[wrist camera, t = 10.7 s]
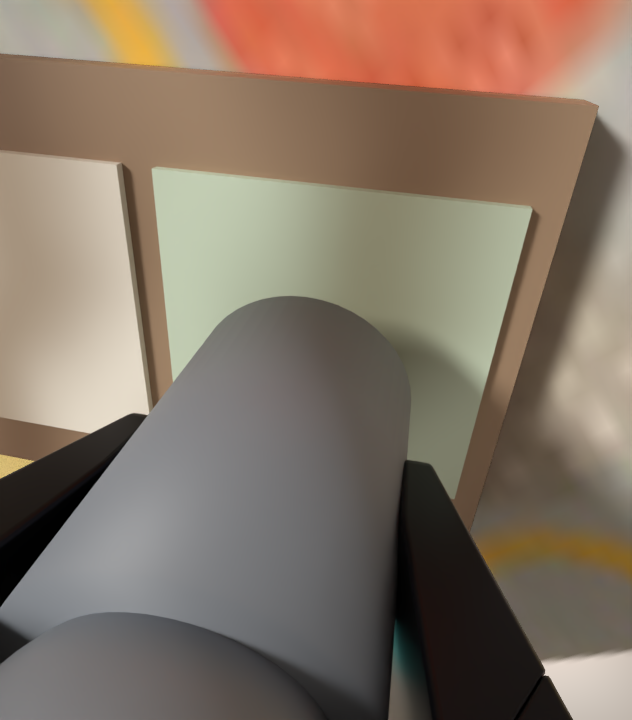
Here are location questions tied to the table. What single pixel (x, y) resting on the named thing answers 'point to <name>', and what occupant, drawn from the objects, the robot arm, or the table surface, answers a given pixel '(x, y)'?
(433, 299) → the game board
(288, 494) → the pawn
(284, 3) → the table surface
